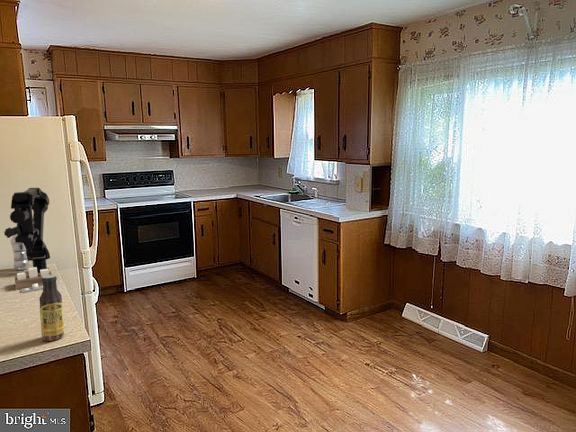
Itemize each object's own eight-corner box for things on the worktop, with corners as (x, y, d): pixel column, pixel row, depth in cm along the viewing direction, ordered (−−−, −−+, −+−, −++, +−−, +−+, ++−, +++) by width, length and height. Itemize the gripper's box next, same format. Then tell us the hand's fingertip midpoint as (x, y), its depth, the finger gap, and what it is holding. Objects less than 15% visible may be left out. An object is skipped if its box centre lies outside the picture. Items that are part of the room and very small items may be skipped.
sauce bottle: (43, 344, 130) (36, 280, 127) (41, 337, 135) (33, 276, 132) (67, 338, 134) (60, 276, 131) (64, 331, 139) (57, 272, 136)
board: (15, 284, 190) (14, 276, 190) (51, 278, 198) (50, 271, 197) (16, 290, 182) (15, 282, 182) (53, 284, 190) (52, 276, 189)
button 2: (41, 280, 193) (40, 269, 192) (49, 279, 194) (48, 268, 194) (41, 282, 190) (40, 271, 189) (50, 281, 192) (48, 270, 191)
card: (21, 290, 182) (20, 285, 182) (48, 285, 187) (47, 280, 187) (21, 293, 178) (21, 287, 178) (49, 288, 184) (48, 283, 183)
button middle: (29, 279, 190) (28, 268, 189) (37, 277, 192) (36, 267, 191) (29, 280, 187) (28, 269, 187) (38, 279, 189) (36, 268, 188)
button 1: (18, 284, 188) (16, 273, 187) (26, 283, 190) (25, 272, 189) (18, 286, 185) (16, 275, 185) (27, 284, 187) (25, 273, 186)
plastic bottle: (24, 271, 211) (19, 231, 208) (11, 271, 211) (5, 231, 208) (32, 267, 218) (27, 228, 215) (19, 267, 218) (14, 229, 215)
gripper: (10, 218, 199) (14, 251, 202) (-1, 224, 182) (3, 260, 184) (37, 216, 203) (41, 248, 205) (29, 222, 186) (33, 257, 188)
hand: (29, 253), depth 196 cm, fingers closed
